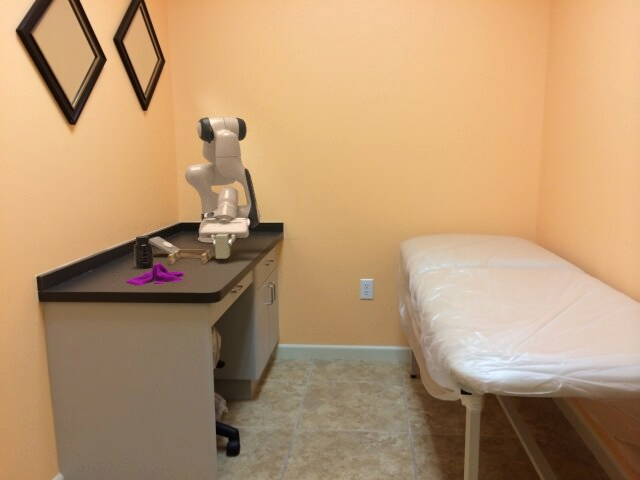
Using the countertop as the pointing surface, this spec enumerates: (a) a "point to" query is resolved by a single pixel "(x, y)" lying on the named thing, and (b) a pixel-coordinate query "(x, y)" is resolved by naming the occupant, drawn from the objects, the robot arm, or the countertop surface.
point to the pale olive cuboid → (222, 246)
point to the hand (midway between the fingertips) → (222, 245)
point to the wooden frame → (190, 255)
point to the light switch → (163, 245)
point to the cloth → (156, 276)
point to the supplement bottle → (143, 252)
